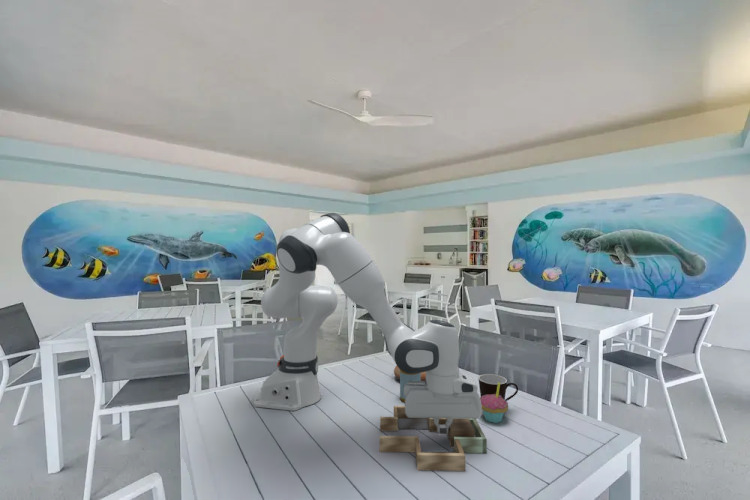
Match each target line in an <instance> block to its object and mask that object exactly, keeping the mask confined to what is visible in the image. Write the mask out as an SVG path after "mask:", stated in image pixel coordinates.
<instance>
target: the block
mask: <svg viewBox="0 0 750 500" xmlns="http://www.w3.org/2000/svg"><path fill="white" fill-rule="evenodd" d="M446 436H447V439H448V441H449V445H450V447H451V448H454V437H475V436H474V428H473V426H472V424H471V422H470V420H469V419H453V422H452V424H451V425H450V427H449V428H448V434H446Z"/></svg>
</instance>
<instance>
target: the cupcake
mask: <svg viewBox="0 0 750 500" xmlns="http://www.w3.org/2000/svg"><path fill="white" fill-rule="evenodd" d="M499 388H500V381H499V383H498V386H497V392H496V394H489V395H487V394H486V395H483V396H482V397H481V396H480V399H481V406H482V414H483V416H484V418H485V420H486V421H487V422H490V423H495V424H498V423H501V422H502V420H503V417H504V414H505V413H506V412H507V411H508V410H509V404H508V403H509V402H508V400H507V401H506V400H504V398H502V397H501V396H499V395H498V394H499Z"/></svg>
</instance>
